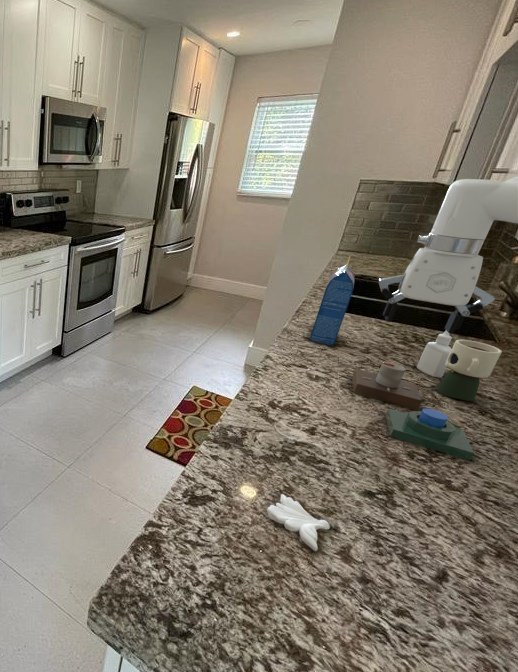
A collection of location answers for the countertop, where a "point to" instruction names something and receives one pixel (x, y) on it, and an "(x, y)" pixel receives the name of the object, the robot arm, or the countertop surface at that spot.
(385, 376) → the dial
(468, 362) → the character mug
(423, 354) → the eye dropper bottle
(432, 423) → the push cap
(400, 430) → the push cap base
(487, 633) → the countertop surface
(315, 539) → the acanthus leaf ornament
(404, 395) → the knob console
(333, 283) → the blue food package
